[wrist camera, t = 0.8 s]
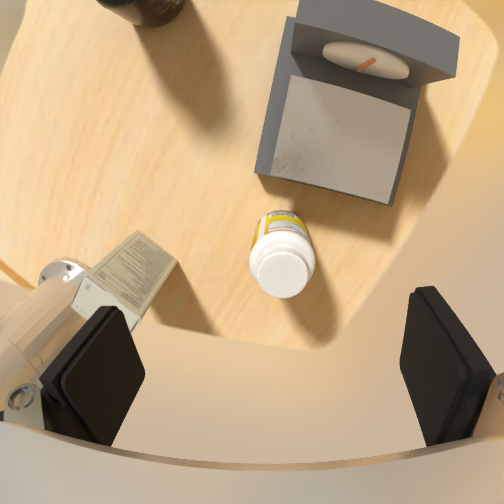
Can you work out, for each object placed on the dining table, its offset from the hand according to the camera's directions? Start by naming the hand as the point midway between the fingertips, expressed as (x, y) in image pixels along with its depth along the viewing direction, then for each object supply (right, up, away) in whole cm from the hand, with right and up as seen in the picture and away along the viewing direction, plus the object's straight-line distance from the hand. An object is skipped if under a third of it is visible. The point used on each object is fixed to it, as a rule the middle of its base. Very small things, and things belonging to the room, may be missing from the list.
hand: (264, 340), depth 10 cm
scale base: (+8, +17, +19) cm, 27 cm away
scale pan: (+8, +13, +18) cm, 23 cm away
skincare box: (-12, +2, +27) cm, 29 cm away
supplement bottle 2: (+3, +5, +24) cm, 25 cm away
